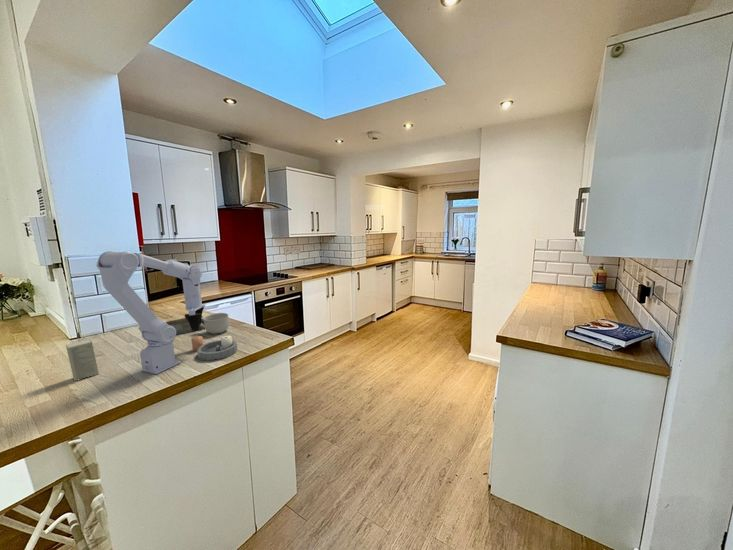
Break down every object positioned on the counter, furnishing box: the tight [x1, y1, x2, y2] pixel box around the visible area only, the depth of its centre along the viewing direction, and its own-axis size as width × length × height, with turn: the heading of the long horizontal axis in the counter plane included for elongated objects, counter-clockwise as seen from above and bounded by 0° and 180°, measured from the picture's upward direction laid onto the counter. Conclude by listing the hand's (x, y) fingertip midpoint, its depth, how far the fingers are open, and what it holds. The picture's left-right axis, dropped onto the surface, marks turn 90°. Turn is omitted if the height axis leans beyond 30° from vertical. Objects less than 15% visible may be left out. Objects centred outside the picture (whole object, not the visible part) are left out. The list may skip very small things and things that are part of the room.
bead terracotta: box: [190, 335, 204, 352], centre depth 121 cm, size 4×4×5 cm
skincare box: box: [65, 338, 100, 381], centre depth 100 cm, size 6×4×12 cm
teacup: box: [200, 312, 230, 335], centre depth 141 cm, size 14×11×8 cm
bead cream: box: [220, 335, 233, 350], centre depth 118 cm, size 4×4×5 cm
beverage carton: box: [165, 317, 206, 336], centre depth 143 cm, size 8×19×7 cm, turn 130°
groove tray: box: [196, 339, 238, 361], centre depth 117 cm, size 14×14×3 cm
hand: (196, 327), depth 119 cm, fingers open, 7 cm apart
